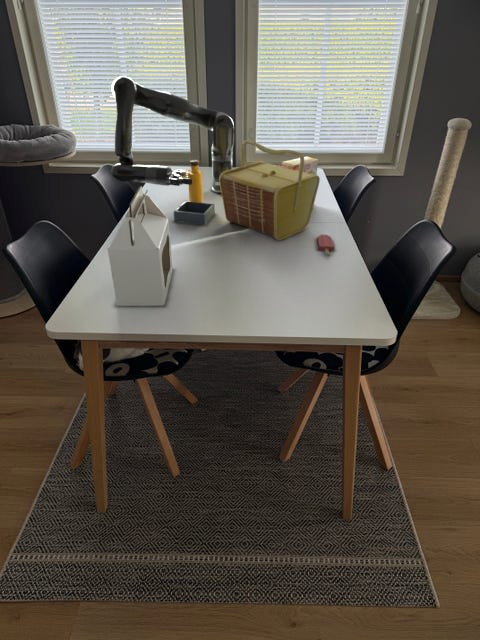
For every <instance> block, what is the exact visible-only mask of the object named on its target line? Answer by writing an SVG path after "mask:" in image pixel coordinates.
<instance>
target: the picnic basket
mask: <svg viewBox="0 0 480 640" xmlns="http://www.w3.org/2000/svg"><path fill="white" fill-rule="evenodd" d="M246 144H247V145H252V146H254V147H256V149H258V150H259V151H261V152H264V153H266V154H268V155H269V154H270V155H274V156H275V155H276V156H277V155H278V156H280V155H281V156H283V155H285V154H290V155H296V156H298V158H300V168H299V171H296V170H292V169H288V168H284V167H282V166H279V165H276V164H272V163H269V162H264V161H262V160H261V161H260V160H259V161H256V162H252V163H248V164H245V145H246ZM304 157H305V156H304V155H303V154H302V153H301V152H300V151H296V150H292V149H272V148H269V147H266V146H264V145H262V144H260V143H257V142H255V141H250V140H243V141H241V143H240V166H238V167H235V168H232V169H231V170H227V171H224V172H222V174H221V175H220V177H219V183H220V188H221V193H220V194H221V199H222V203H223V204H222V205H223V210H224V215H225V219H226V221H227V222H228V223H233V224H235V225H236V224H237V225H239V226H242V227H244V228H248V229H249V230H253V231H256V232H259V233H261V234H264V235H266V236H269V237H272V238H275V240H277V241H281V240H282V241H283V240H285V239H286V238H289V237H291V236H293V235H295V234H298V233H300V232H302V231H304V230H305V229H306V228H307V227H308V225H309V223H310V221H311V217H312V213H313V208H314V205H315V201H316V197H317V193H318V190H319V187H320V186H319V185H320V180H321V179H320V176H319V175H318V174H317V175H312V174H308V173H304V172H303V167H304Z"/></svg>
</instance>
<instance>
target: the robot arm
mask: <svg viewBox="0 0 480 640" xmlns="http://www.w3.org/2000/svg"><path fill="white" fill-rule="evenodd" d="M111 92H112V95H113V96H114V99H115V107H116V120H115V121H116V122H115V130H114V154H115V156H116V157H118V162H119V163H115V164H114V165H113V166H112V168H111V171H110V172H111V176H112V177H113V179H114V180H116V181H118V182H124V183H125V182H129V183H131V182H135V183H136V182H137V183H143V184H151V185H157V186H167V187H169V186H175V187H176V186H177V187H180V186H182V185H188V186H189V185H191V184H192V179H188V172H189V171H191V169H180V168H179V169H177V170H174V171H173V170H172V168H171V167H170V166H164V165H144V164H136V165H135V163H134V157H133V117H134V115H133V114H134V106H139V107H142V108H145V109H147V110H150V111H152V112H153V113H156V114H157V115H159V116H162V117H165V118H167V119H169V120H172V121H175V122H179V123H184V124H192V125H197V126H199V127H202V128H204V129H207V130H209V131H211V132H212V145H211V174H212V176H211V177H212V184H211V185H212V186H211V187H212V191H213V192H214V193H218V194H222V193H221V188H220V183H219V177H220V175H221V174H222V172H224V171H227V170H231V169H233V148H234V143H235V125H234V121H233V119H232V118H231V117H230V116H229V115H228V114H227V113H225V112H223V111H217V110H214V109H209V108H206V107H203V106H200V105H198V104H197V103H194V102H192V101H191V100H188V99H186V98H183V97H181V96H178V95H175V94H173V93H170V92H166V91H160V90H155V89H150V88H148V87H146V86H144V85H140V84H139V83H137V82H134V80H132V78H131V77H128V76H124V75H123V76H119V77H116V79H115V80H113V82H112V84H111ZM278 166H280V167H282V163H280V164H279V165H278Z"/></svg>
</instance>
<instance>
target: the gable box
mask: <svg viewBox="0 0 480 640" xmlns="http://www.w3.org/2000/svg"><path fill="white" fill-rule="evenodd" d="M148 192H149V191H148V189H146V191H145V193H143V187H142V186H141V185H140V186H138V189H137V190H136V192H135V194H134V196H133V197H132V199H131V201H130V202H129V207H128V211H127V213H126V215H125V217H124V218H123V219H122V221H121V223H120V225H119V227H118V229H117V231H116V232H115V235H114V236H113V237H112V240H111V242H110V244H109V245H108V247H107V253H108V259H109V260H108V261H109V266H110V272H111V278H112V283H113V289H114V296H115V301H116V306H117V307H164V306H165V304H166V300H167V295H168V291H169V287H170V282H171V279H172V274H173V257H172V256H173V255H172V246H171V234H170V233H171V232H170V221H169V220H170V219H169V218H168V217H167V216H166V214H165V213H164V212H163V211H162V210H161V208H160V207H159V206H158V205H157V204H156V203H155V201H154V199H152V198H151V197H150V195H149V196H148V195H147V193H148Z"/></svg>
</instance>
